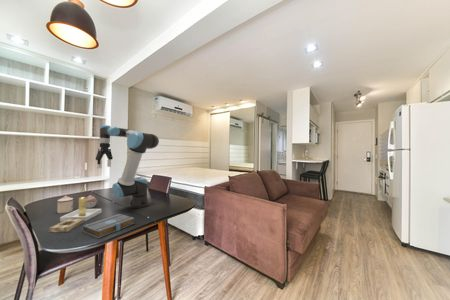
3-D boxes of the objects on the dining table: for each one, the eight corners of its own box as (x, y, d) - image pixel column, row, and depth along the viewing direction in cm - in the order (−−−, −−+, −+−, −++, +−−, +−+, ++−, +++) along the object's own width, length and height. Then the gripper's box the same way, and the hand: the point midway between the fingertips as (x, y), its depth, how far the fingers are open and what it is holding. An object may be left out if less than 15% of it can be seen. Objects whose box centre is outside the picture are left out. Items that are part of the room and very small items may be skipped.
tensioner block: (83, 223, 110) (83, 219, 110) (67, 231, 98) (67, 227, 98) (66, 223, 109) (66, 219, 109) (48, 232, 97) (48, 227, 97)
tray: (101, 212, 128) (101, 208, 128) (86, 221, 112) (86, 216, 112) (78, 213, 127) (78, 209, 127) (59, 221, 111) (59, 217, 111)
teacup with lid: (75, 210, 132) (75, 195, 132) (59, 214, 124) (60, 198, 124) (68, 208, 137) (68, 193, 137) (52, 211, 129) (53, 196, 129)
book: (118, 219, 117) (118, 212, 117) (134, 224, 110) (134, 216, 110) (82, 232, 98) (82, 223, 98) (98, 239, 91) (98, 230, 91)
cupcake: (99, 206, 141) (99, 194, 141) (85, 210, 133) (85, 197, 133) (94, 204, 146) (95, 193, 146) (81, 207, 139) (81, 195, 139)
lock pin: (87, 214, 122) (87, 196, 122) (83, 217, 118) (83, 198, 118) (81, 215, 121) (81, 196, 122) (77, 217, 118) (77, 198, 118)
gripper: (108, 143, 162) (108, 166, 162) (90, 142, 137) (89, 168, 137) (117, 143, 162) (116, 166, 162) (100, 142, 137) (99, 168, 137)
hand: (104, 167), depth 149 cm, fingers open, 13 cm apart
